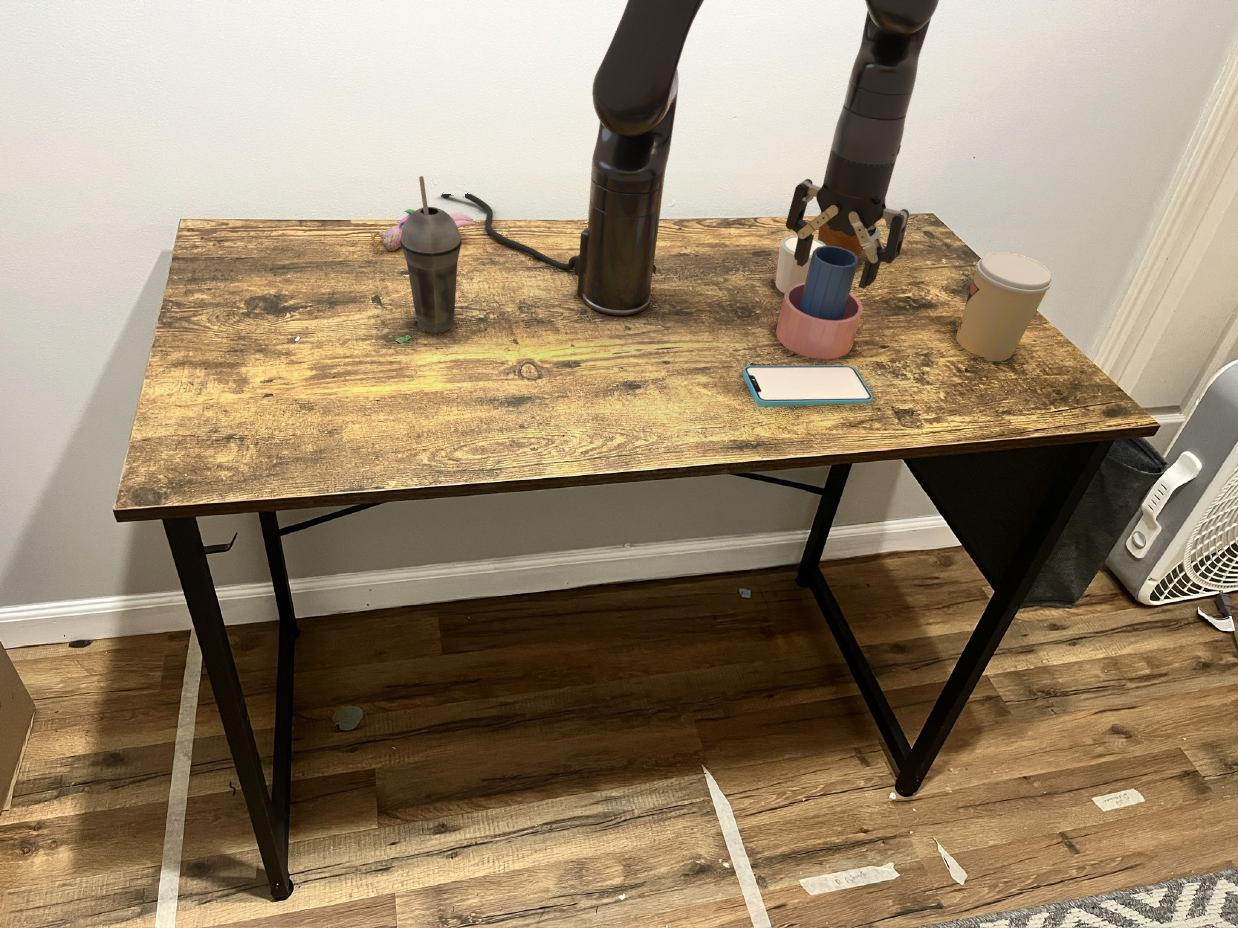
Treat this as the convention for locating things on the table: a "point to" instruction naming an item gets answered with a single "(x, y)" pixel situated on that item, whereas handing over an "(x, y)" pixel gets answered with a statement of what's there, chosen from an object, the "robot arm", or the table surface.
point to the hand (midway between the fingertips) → (832, 274)
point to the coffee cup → (1001, 304)
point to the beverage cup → (432, 264)
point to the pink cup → (817, 328)
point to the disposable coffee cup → (839, 239)
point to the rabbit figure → (393, 234)
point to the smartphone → (806, 385)
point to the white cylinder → (792, 263)
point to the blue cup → (828, 282)
